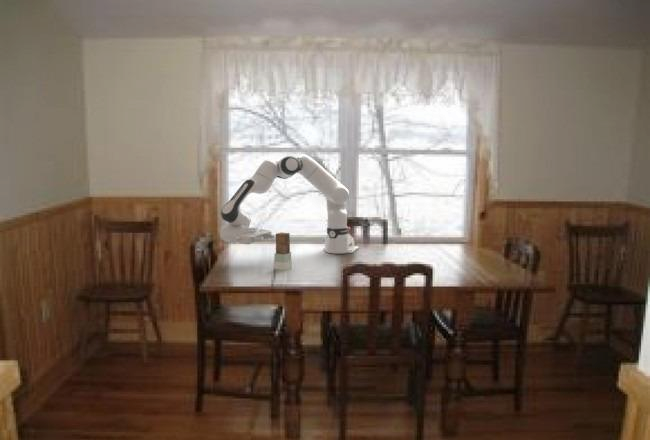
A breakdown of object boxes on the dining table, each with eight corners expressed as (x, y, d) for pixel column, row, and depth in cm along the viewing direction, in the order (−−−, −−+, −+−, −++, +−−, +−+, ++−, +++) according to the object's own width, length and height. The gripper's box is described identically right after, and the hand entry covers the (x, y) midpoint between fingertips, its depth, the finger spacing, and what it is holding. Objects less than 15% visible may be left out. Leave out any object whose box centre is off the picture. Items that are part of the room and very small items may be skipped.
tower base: (281, 266, 280) (281, 259, 279) (291, 268, 277) (291, 260, 276) (275, 269, 275) (274, 261, 274) (285, 270, 272) (284, 262, 271)
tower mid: (281, 259, 279) (280, 251, 279) (291, 260, 277) (290, 252, 276) (274, 261, 274) (274, 253, 274) (284, 262, 271) (284, 254, 271)
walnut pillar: (281, 251, 278) (281, 232, 276) (289, 252, 276) (289, 233, 274) (276, 253, 274) (275, 233, 272) (284, 254, 271) (283, 234, 270)
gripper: (233, 232, 276) (255, 235, 269) (258, 227, 293) (279, 229, 286) (233, 245, 277) (255, 247, 270) (258, 238, 294) (279, 241, 287)
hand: (268, 238), depth 278 cm, fingers open, 8 cm apart
